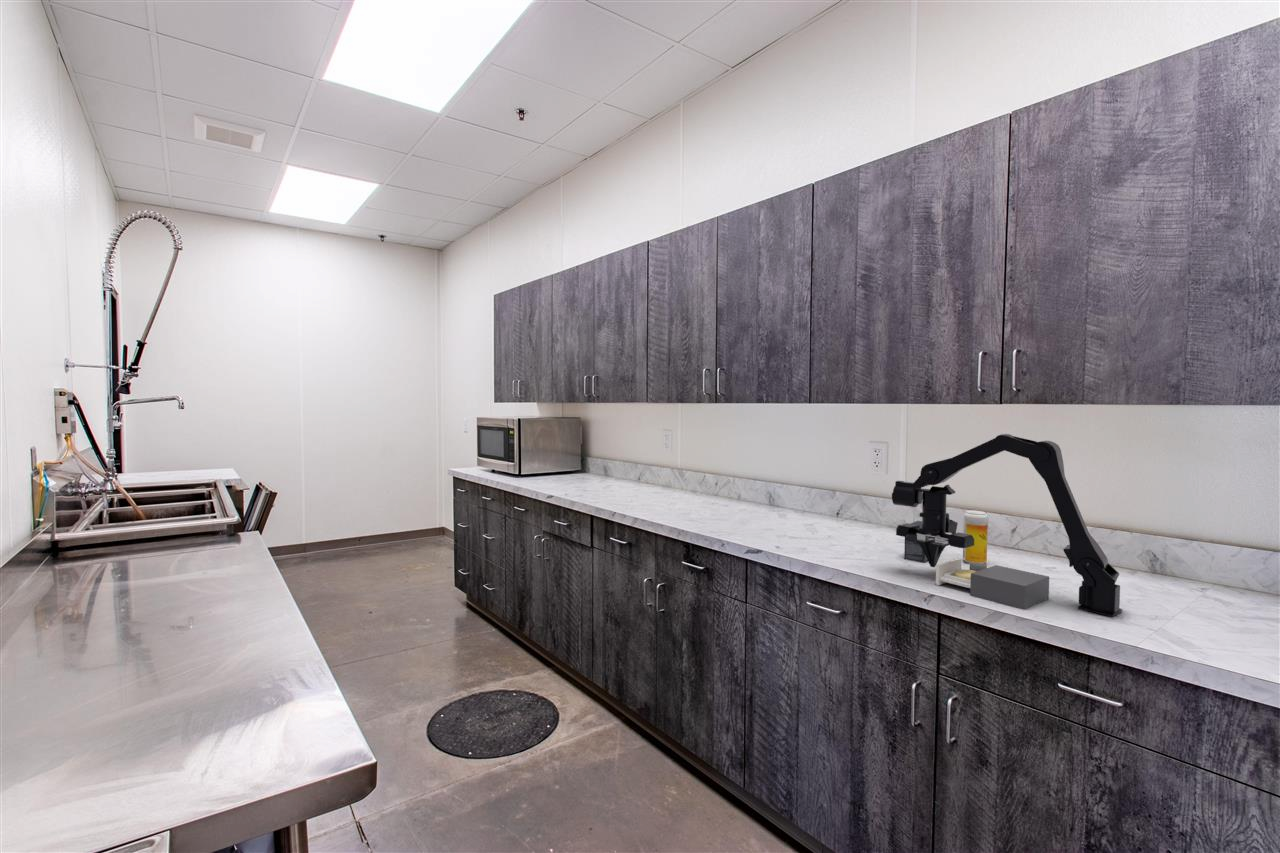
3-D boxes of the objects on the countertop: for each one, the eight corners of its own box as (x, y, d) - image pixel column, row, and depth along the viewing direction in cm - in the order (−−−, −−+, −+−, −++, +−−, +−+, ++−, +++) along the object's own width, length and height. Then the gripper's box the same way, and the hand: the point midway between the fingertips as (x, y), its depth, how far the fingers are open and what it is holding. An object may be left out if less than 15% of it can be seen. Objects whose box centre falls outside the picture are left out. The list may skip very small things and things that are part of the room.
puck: (989, 578, 157) (989, 565, 157) (982, 580, 155) (982, 567, 154) (973, 574, 160) (974, 562, 160) (966, 577, 158) (966, 564, 158)
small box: (916, 552, 184) (916, 519, 183) (938, 556, 179) (938, 522, 179) (902, 559, 176) (903, 524, 176) (925, 563, 172) (926, 528, 171)
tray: (1004, 588, 148) (1004, 568, 148) (982, 596, 142) (983, 575, 141) (956, 577, 158) (957, 558, 157) (934, 584, 151) (935, 564, 151)
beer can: (989, 565, 169) (991, 514, 168) (966, 564, 170) (968, 513, 170) (982, 560, 175) (983, 510, 174) (959, 559, 176) (961, 509, 176)
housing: (1048, 598, 141) (1049, 576, 140) (1024, 609, 133) (1025, 586, 133) (995, 585, 151) (995, 565, 150) (970, 595, 143) (970, 573, 143)
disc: (986, 579, 149) (986, 573, 149) (974, 583, 146) (974, 577, 146) (962, 574, 154) (962, 568, 154) (950, 578, 151) (950, 571, 151)
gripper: (985, 511, 154) (983, 570, 154) (917, 501, 169) (916, 555, 170) (964, 516, 147) (962, 577, 148) (895, 505, 163) (894, 560, 163)
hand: (933, 566), depth 157 cm, fingers closed
